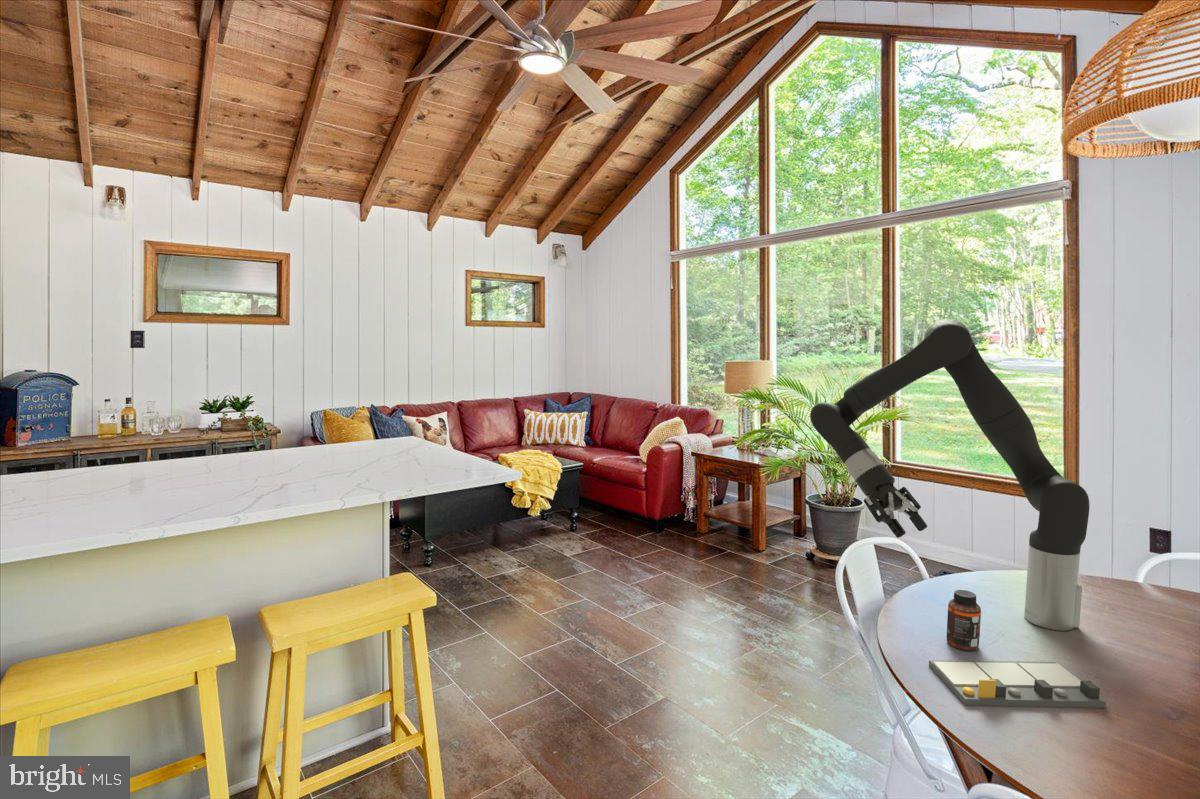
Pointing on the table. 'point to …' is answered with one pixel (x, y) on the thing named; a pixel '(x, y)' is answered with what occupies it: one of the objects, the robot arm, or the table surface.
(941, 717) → the table surface
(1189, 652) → the table surface
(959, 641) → the supplement bottle
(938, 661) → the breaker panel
